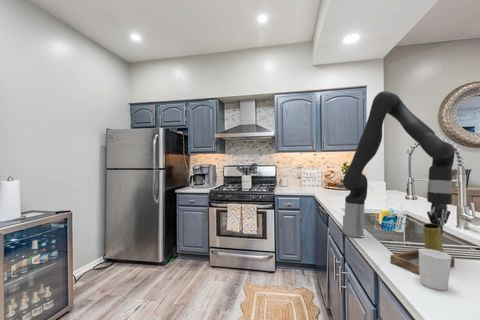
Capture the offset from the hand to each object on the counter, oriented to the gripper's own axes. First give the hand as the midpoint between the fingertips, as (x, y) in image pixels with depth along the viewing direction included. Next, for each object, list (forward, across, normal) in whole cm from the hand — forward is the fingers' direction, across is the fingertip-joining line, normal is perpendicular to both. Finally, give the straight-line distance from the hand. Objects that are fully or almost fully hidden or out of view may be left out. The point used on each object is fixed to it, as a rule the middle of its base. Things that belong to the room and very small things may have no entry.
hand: (438, 234), depth 91 cm
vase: (+10, +2, 0) cm, 10 cm away
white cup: (+11, +25, +10) cm, 29 cm away
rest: (+11, +10, 0) cm, 15 cm away
